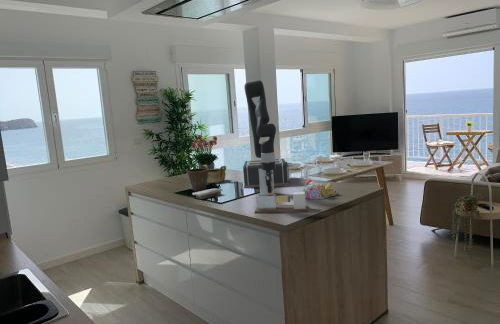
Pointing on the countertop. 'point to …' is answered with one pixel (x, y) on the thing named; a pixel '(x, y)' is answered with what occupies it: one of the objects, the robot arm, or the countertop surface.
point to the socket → (299, 200)
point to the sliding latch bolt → (280, 198)
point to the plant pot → (198, 178)
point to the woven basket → (215, 174)
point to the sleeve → (266, 202)
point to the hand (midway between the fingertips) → (270, 191)
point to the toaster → (253, 173)
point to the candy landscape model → (318, 190)
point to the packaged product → (207, 193)
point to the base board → (282, 209)
